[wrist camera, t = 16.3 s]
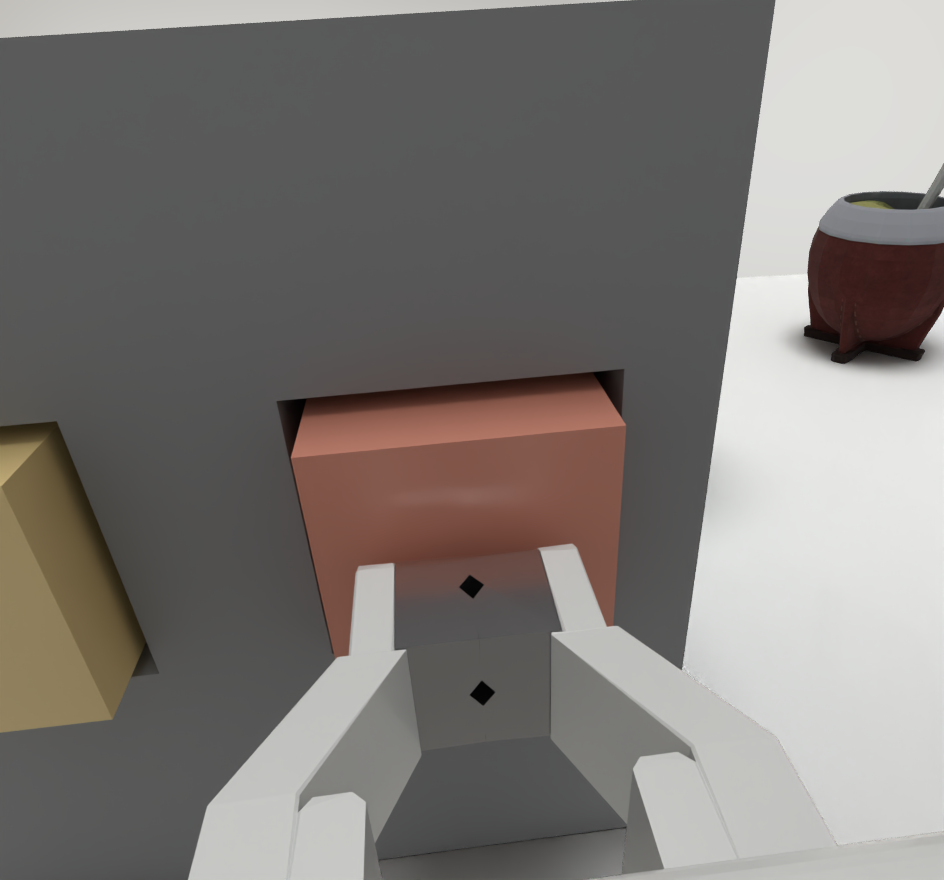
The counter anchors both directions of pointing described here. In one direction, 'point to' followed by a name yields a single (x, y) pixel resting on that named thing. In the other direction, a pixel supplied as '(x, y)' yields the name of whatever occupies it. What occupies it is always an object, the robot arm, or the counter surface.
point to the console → (348, 348)
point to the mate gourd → (878, 272)
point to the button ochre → (57, 592)
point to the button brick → (459, 479)
